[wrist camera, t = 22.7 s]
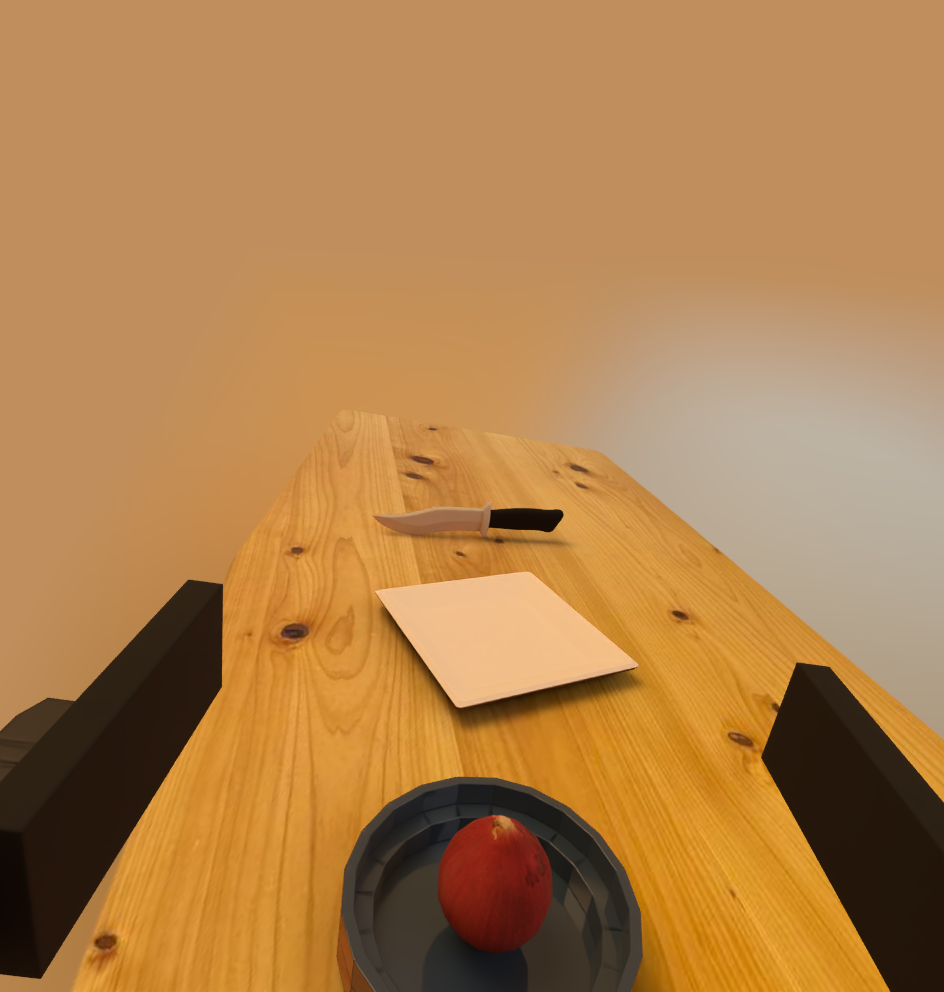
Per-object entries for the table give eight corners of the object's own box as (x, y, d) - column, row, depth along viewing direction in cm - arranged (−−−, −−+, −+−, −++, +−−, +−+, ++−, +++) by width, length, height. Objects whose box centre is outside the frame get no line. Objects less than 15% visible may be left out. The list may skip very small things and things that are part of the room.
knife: (371, 534, 81) (374, 498, 79) (370, 529, 83) (374, 492, 81) (559, 545, 86) (566, 510, 85) (555, 539, 88) (562, 505, 86)
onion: (511, 872, 38) (534, 765, 35) (558, 971, 33) (589, 855, 30) (416, 897, 36) (433, 784, 33) (451, 1006, 31) (475, 884, 28)
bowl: (282, 1056, 29) (286, 995, 27) (391, 799, 43) (397, 751, 41) (627, 1175, 26) (650, 1116, 25) (622, 863, 40) (636, 814, 39)
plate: (454, 727, 50) (457, 705, 49) (372, 606, 65) (374, 588, 64) (635, 682, 59) (640, 663, 58) (527, 585, 74) (530, 569, 73)
